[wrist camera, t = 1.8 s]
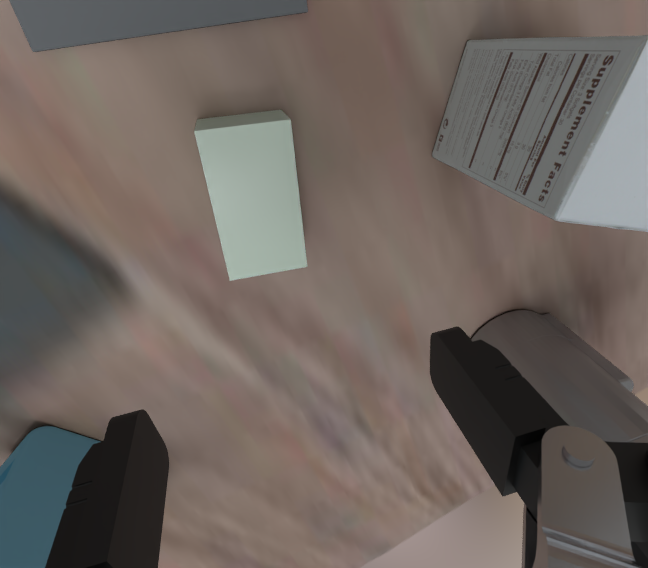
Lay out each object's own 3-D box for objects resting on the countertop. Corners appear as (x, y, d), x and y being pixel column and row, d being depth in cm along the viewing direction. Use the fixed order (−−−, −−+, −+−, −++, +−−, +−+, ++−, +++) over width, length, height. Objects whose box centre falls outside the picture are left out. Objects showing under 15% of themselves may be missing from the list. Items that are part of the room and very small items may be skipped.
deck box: (280, 108, 24) (290, 119, 21) (296, 241, 29) (307, 266, 26) (197, 118, 23) (194, 131, 20) (228, 252, 28) (229, 280, 25)
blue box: (7, 452, 33) (-86, 633, 23) (34, 418, 31) (-49, 593, 22) (142, 488, 39) (116, 644, 29) (169, 461, 38) (152, 613, 28)
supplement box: (558, 61, 26) (785, 73, 16) (512, 171, 30) (672, 241, 19) (464, 34, 24) (655, 27, 14) (426, 157, 28) (555, 226, 17)
